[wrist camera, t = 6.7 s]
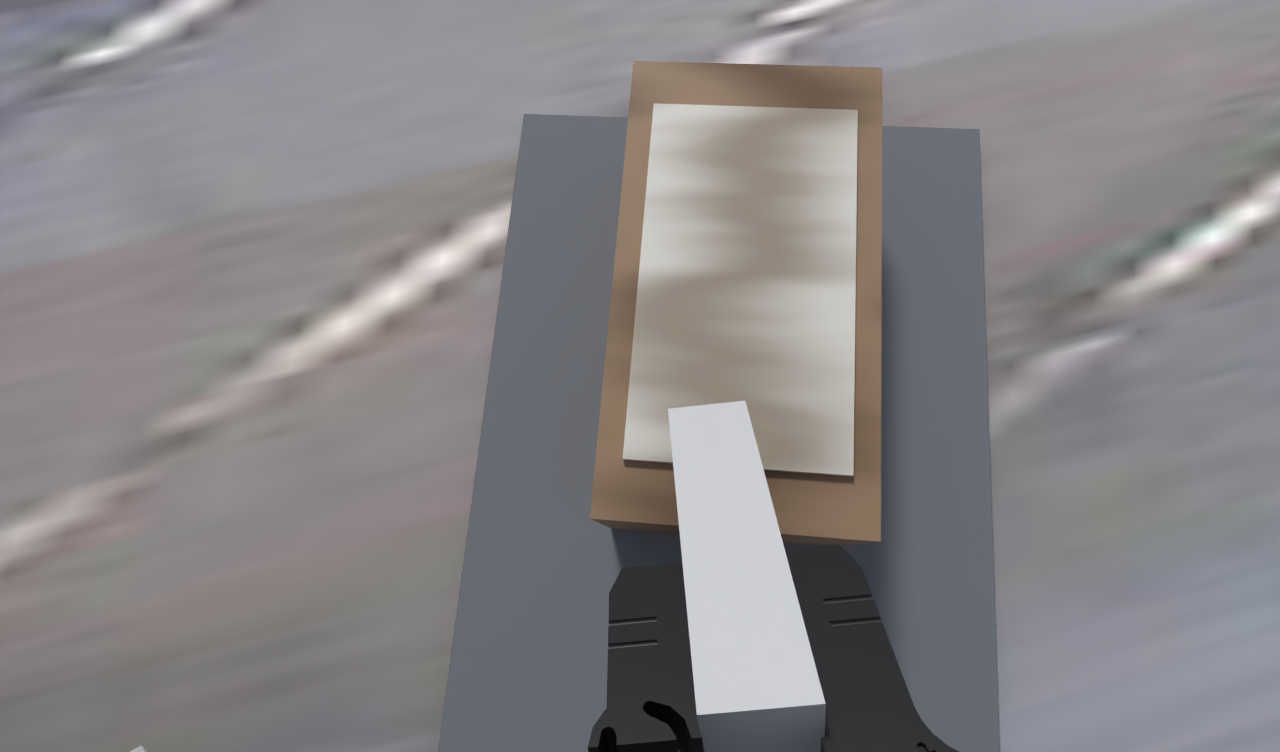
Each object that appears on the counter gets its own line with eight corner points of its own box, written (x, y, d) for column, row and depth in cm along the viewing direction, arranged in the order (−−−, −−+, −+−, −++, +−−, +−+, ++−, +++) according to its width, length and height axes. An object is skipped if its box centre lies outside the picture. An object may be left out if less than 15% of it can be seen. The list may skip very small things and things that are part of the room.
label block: (588, 517, 18) (633, 56, 21) (610, 528, 23) (644, 154, 26) (882, 541, 17) (884, 63, 21) (840, 546, 22) (846, 162, 26)
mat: (429, 850, 22) (423, 857, 21) (526, 121, 27) (524, 114, 27) (998, 918, 20) (1005, 927, 20) (974, 137, 26) (979, 129, 26)
